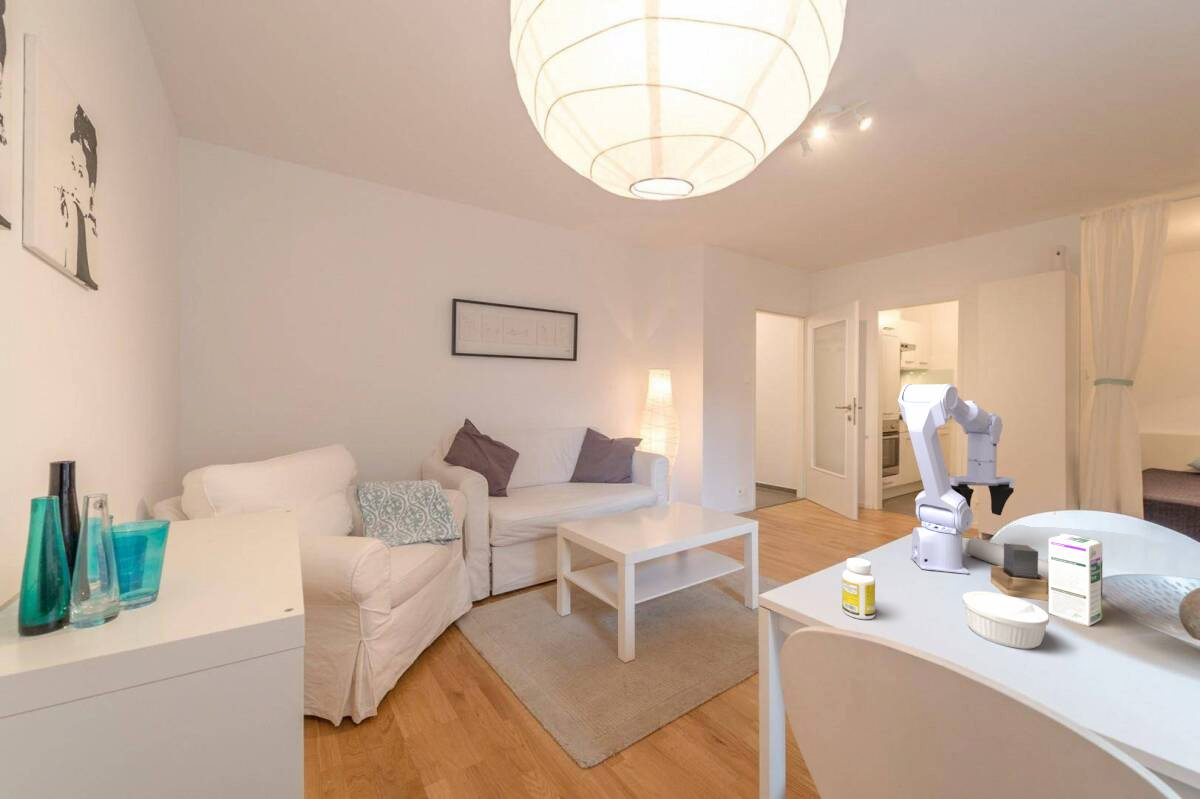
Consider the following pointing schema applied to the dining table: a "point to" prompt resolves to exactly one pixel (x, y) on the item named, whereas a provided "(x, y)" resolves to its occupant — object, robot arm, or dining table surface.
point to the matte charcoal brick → (1020, 561)
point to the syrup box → (1075, 579)
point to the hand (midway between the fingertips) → (980, 514)
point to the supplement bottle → (858, 589)
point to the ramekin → (1005, 619)
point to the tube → (997, 554)
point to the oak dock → (1020, 585)
